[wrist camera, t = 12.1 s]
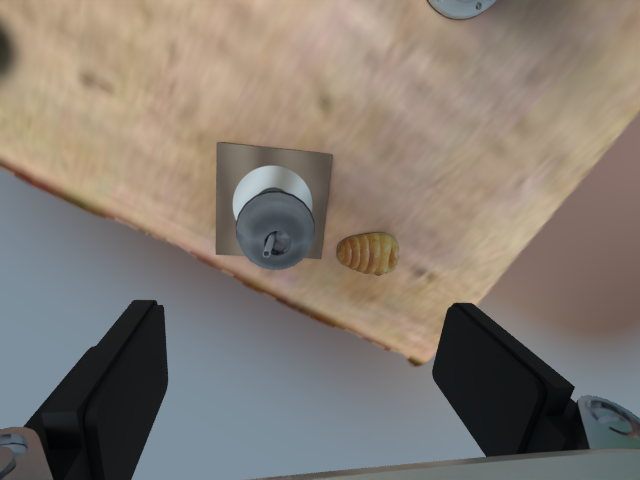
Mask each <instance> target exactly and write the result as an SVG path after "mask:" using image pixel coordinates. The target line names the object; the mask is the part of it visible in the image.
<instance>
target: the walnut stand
mask: <svg viewBox="0 0 640 480" xmlns="http://www.w3.org/2000/svg"><path fill="white" fill-rule="evenodd" d="M332 159H333V155H332V154H327V153H319V152H310V151H300V150H291V149H282V148H272V147H263V146H253V145H244V144H234V143H225V142H217V174H216V255H238V256H246V255H245V254H244V253H243V251H242V249H241V247H240V245H239V242H238V240H237V238H236V226H235V225H236V221H237V218H238V214H239V212H240V211H241V209H242V208H243V206H244V205H245V203H246V202H248V201H249V200H250V199H252V198H253V197H254V196H255V195H258V194H259V193H260V192H261V191H263V190H264V189H267V188H270V187H276V188H279V189H282V190H284V191H285V192H287V193H290V194H293V195H295V196H296V197H298V198H299V199H301V200H302V201H304V203H305V204H306V205H307V207H308V208H309V209H310V211H311V213H312V216H313V219H314V222H315V235H314V239H313V243H312V246H311V249H310V250H309V252H308V253H307V254H306V256H305V257H304V258H313V259H321V256H322V247H323V238H324V229H325V220H326V212H327V203H328V194H329V185H330V176H331V168H332Z"/></svg>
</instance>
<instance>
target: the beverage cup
mask: <svg viewBox="0 0 640 480" xmlns="http://www.w3.org/2000/svg"><path fill="white" fill-rule="evenodd" d="M235 226H236V238H237V240H238V242H239V245H240V247H241V249H242V251H243V253H244V254H245V255H246V256H247V257H248V259H249V260H250V261H251V262H253V263H255V264H257V265H258V266H260V267H262V268H266V269H271V270H281V269H286V268H289V267H292V266H294V265H295V264H297V263H298V262H300V261H301V260H302V259H303V258H304V257H305V256H306V254H307V253H308V252H309V250H310V249H311V246H312V243H313V239H314V235H315V222H314V219H313V216H312V213H311V211H310V209H309V208H308V207H307V205H306V204H305V203H304V201H302V200H301V199H299V198H298V197H296V196H295V195H293V194H290V193H287V192H285V191H284V190H282V189H279V188H276V187H270V188H267V189H264V190H263V191H261V192H260V193H259V194H258V195H255V196H254V197H253V198H252V199H250V200H249V201H248V202H246V203H245V205H244V206H243V208H242V209H241V211H240V212H239V214H238V218H237V221H236V225H235Z"/></svg>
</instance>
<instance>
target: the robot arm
mask: <svg viewBox="0 0 640 480" xmlns="http://www.w3.org/2000/svg"><path fill="white" fill-rule="evenodd" d="M428 1H429V2H430V4H431V5H432V6H433V7H434V8H435V9H436V10H437V11H438V12H440V13H441V14H443V15H444V16H447V17H450V18H453V19H466V18H471V17H473V16H476V15H478V14H480V13H481V12H483V11H485V10H486V9H487V8H489V7H490V6H491V5H492V4H493V3H494V2H495V1H496V0H428ZM165 335H166V334H165V317H164V307H163V305H158V304H157V301H156V300H134V301H133V302H132V303H131V304H130V305H129V306H128V308H127V309H126V310H125V311H124V312H123V314H122V315H121V316H120V317H119V319H118V320H117V321H116V322H115V323H114V325H113V326H112V327H111V328H110V330H109V331H108V332H107V333H106V335H105V336H104V337H103V338H102V339H101V341H100V342H99V343H98V344H97V345H96V346H94V347H91V348H90V349H89V350H88V351H87V352H86V353H85V354H84V355H83V356H82V358H81V359H80V360H79V361H78V362H77V364H76V365H75V366H74V367H73V368H72V370H71V371H70V372H69V373H68V374H67V375H66V377H65V378H64V379H63V380H62V381H61V382H60V384H59V385H58V386H57V387H56V389H55V390H54V391H53V392H52V393H51V394H50V396H49V397H48V398H47V399H46V400H45V402H44V403H43V404H42V405H41V406H40V408H39V409H38V410H37V411H36V412H35V414H34V415H33V416H32V417H31V418H30V420H29V421H28V422H27V423H26V424H25V425H24V426H23V427H9V428H4V429H0V480H131V479H132V476H133V474H134V471H135V469H136V466H137V464H138V461H139V459H140V456H141V453H142V451H143V449H144V446H145V443H146V441H147V438H148V436H149V433H150V431H151V428H152V425H153V423H154V421H155V418H156V415H157V413H158V411H159V408H160V406H161V403H162V400H163V398H164V395H165V393H166V390H167V385H168V369H167V352H166V336H165ZM432 375H433V379H434V381H435V382H436V384H437V385H438V387H439V388H440V390H441V391H442V393H443V394H444V396H445V397H446V398H447V400H448V401H449V403H450V404H451V406H452V407H453V409H454V410H455V412H456V413H457V415H458V416H459V417H460V419H461V420H462V422H463V423H464V425H465V426H466V427H467V429H468V430H469V432H470V434H471V435H472V436H473V438H474V439H475V441H476V442H477V444H478V445H479V447H480V448H481V450H482V451H483V453H484V454H485V455H486V457H480V458H469V459H458V460H446V461H436V462H424V463H413V464H402V465H391V466H380V467H370V468H360V469H348V470H337V471H328V472H318V473H307V474H296V475H286V476H277V477H266V478H256V479H246V480H640V418H639V417H637V416H636V415H634V414H633V413H632V412H630V411H629V410H627V409H625V408H623V407H622V406H620V405H618V404H616V403H614V402H611V401H609V400H607V399H603V398H600V397H597V396H590V395H586V396H581V397H580V398H579V399H578V400H577V403H575V402H574V401H573V400H572V399H571V398H570V397H571V395H572V392H573V390H574V388H575V387H574V386H573V385H572V384H571V383H570V382H568V381H567V380H566V379H565V378H563V377H562V376H561V375H560V374H558V373H557V372H556V371H555V370H554V369H552V368H551V367H550V366H549V365H547V364H546V363H545V362H544V361H542V360H541V359H540V358H539V357H538V356H536V355H535V354H534V353H533V352H531V351H530V350H529V349H528V348H527V347H525V346H524V345H523V344H522V343H520V342H519V341H518V340H517V339H515V338H514V337H513V336H511V334H509V333H508V332H507V331H506V330H504V329H503V328H502V327H501V326H499V325H498V324H497V323H496V322H495V321H493V320H492V319H491V318H490V317H488V316H487V315H486V314H485V313H483V312H482V311H481V310H480V309H479V308H477V307H476V306H475V305H474V304H472V303H454V304H453V305H452V306H451V307H449V308H448V310H447V313H446V317H445V321H444V325H443V329H442V333H441V337H440V341H439V345H438V349H437V353H436V357H435V361H434V366H433V370H432Z"/></svg>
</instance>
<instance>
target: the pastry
mask: <svg viewBox="0 0 640 480" xmlns="http://www.w3.org/2000/svg"><path fill="white" fill-rule="evenodd" d="M398 252H399V248H398V243H397V240H396V238H395V237H392V236H390V235H388V234H386V233H368V234H361V235H356V236H351V237H348V238H346V239H344V240H342V241H341V242H340V243H339V244H338V248H337V257H338V259H339V261H340V262H341V264H343V265H345V266H348V267H349V268H350V269H354V270H356V271H359V272H362V273H364V274H372V273H374V274H376V275H377V276H380V275H382V274H384V273H385V274H387V273H389V272H391V271H393V270H394V269H395V268H396V265H397V262H398V258H399V255H398Z"/></svg>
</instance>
